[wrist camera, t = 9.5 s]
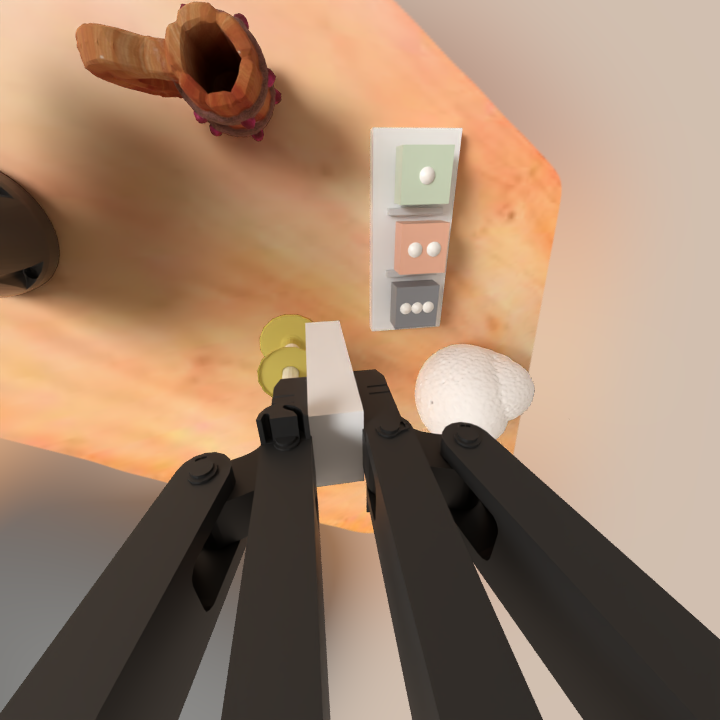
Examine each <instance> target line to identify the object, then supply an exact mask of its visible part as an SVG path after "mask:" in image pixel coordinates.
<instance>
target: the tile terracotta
mask: <svg viewBox="0 0 720 720" xmlns="http://www.w3.org/2000/svg"><path fill="white" fill-rule="evenodd" d="M449 230H450V222H446V221H443V220H426V221H396V229H395V255H394V270H395V271H396V272H397V273H398V274H399V275H408V274H427V273H445V265H446V256H447V247H448V239H449Z"/></svg>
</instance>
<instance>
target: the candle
mask: <svg viewBox="0 0 720 720" xmlns="http://www.w3.org/2000/svg"><path fill="white" fill-rule="evenodd" d="M305 323H312V321H311V320H310V319H308V318H305V317H303V316H300V315H291V314H285V315H282V316H279V317H277V318H274V319H272V320H271V321H270V322H269V323H268V324H267V325H266V326H265V327H264V328H263V331H262V333H261V336H260V350H261V352H262V353H263V355H264V358H263V359H262V361H261V363H260V365H259V368H258V371H257V372H258V382H259V384H260V385H261V387H262V389H263V390H264V392H266V393H267V394H268V395H270V396H271V397H272V398H273V390H274V387H275V385H276V384H277V383H278V382H279V380H280V379H286V378H297V377H307V365H306V332H305Z"/></svg>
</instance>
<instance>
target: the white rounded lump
mask: <svg viewBox="0 0 720 720" xmlns="http://www.w3.org/2000/svg"><path fill="white" fill-rule="evenodd" d="M415 388H416V389H415V402H416V406H417V410H418V413H419V415H420V418H421V420H422V422H423V423H424V425H425V426H426V427H427V429H428V430H429V431H430V432H431V433H435V434H442V431H443V430H444V428H445V427H446V426H448V425H450V424H451V423H457V422H465V423H471V424H474V425H477V426H479V427H481V428H482V429H484V430H485V431H487V432H488V433H489V434H490V435H491V436H492V437H493V438H494V439H497V438H498V437H499V436H500V435H501V434H502V433H504V431H505V428H506V426H507V423H508V421H509V420H512V419H515V418H516V417H518V416H519V415H522V414H523V412H524V411H526V410H527V409H528V407H529V406H530V405H531V402H532V400H533V396H534V391H535V390H534V384H533V381H532V378H531V377H530V375H529V373H528V371H526V369H524V368H523V367H522V366H521V365H519V364H517V363H516V362H513V361H512V360H511V358H510V357H508V356H506V355H503V354H500V353H497V352H494V351H493V350H489V349H487V348H482V347H480V346H475V345H469V344H455V345H449V346H448V347H444V348H443V349H441V350H438V351H437V352H436V353H434V354H432V356H430V357H429V358H428V360H427V361H425V363H424V365H423V366H422V368H421V369H420V372H419V374H418V376H417V380H416V385H415Z"/></svg>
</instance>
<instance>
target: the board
mask: <svg viewBox="0 0 720 720" xmlns="http://www.w3.org/2000/svg"><path fill="white" fill-rule="evenodd" d="M461 136H462V128H374V127H373V128H372V129H371V130H370V328H371V330H372V331H383V330H396V329H395V328H394V327H393V325H392V324H391V322H390V309H391V282H396V281H414V280H431V279H432V280H434V281H435V282H436V283H437V284H439V285H440V289H439V298H438V307H437V316H436V326H440V319H441V310H442V301H443V293H444V284H445V275H446V267H447V258H448V249H449V240H450V232H451V223H452V214H453V206H454V197H455V188H456V179H457V171H458V162H459V153H460V145H461ZM400 145H455V150H454V159H453V168H452V178H451V187H450V196H449V204H421V205H398V204H395V203H394V195H395V166H396V147H397V146H400ZM426 220H443V221H446V222H450V230H449V239H448V247H447V256H446V265H445V273H427V274H408V275H399V274H398V273H397V272H396V271H395V270H394V255H395V229H396V221H426ZM436 326H431V327H436ZM418 328H423V327H418ZM405 329H410V328H405Z"/></svg>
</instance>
